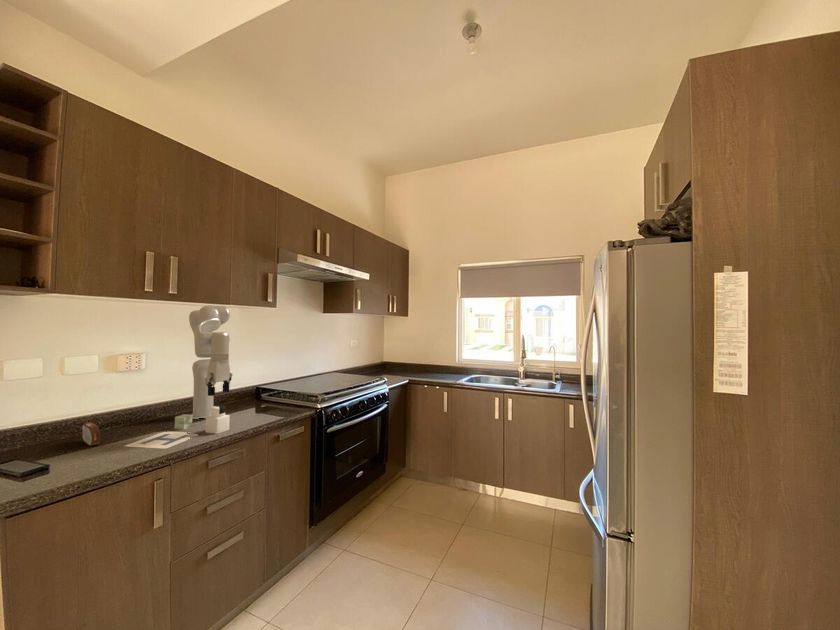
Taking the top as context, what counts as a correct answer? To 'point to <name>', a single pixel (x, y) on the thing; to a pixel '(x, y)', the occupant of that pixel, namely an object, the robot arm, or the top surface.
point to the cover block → (183, 422)
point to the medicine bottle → (217, 420)
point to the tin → (91, 434)
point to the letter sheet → (161, 440)
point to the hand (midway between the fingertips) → (218, 393)
